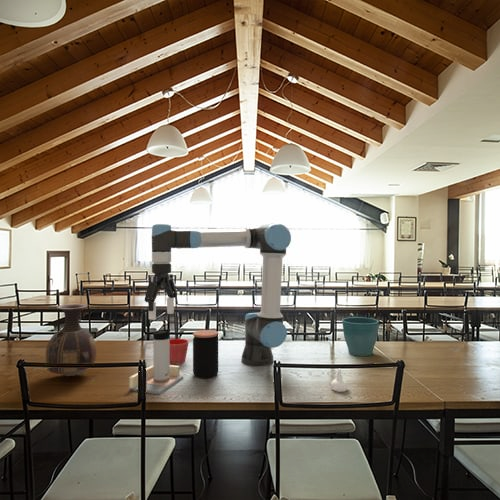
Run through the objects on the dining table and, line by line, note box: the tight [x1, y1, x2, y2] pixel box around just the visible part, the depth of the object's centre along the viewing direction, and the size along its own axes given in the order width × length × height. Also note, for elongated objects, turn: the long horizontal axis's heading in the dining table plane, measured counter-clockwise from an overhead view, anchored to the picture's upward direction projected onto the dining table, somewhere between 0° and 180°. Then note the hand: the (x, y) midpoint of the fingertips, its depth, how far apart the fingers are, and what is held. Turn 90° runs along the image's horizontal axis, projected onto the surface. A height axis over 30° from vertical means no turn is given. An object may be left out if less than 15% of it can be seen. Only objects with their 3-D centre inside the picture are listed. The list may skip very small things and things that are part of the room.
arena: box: [129, 364, 184, 395], centre depth 151 cm, size 13×18×5 cm
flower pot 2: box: [341, 316, 380, 357], centre depth 195 cm, size 18×18×17 cm
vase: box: [44, 303, 97, 377], centre depth 159 cm, size 23×19×30 cm
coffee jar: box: [192, 329, 219, 380], centre depth 162 cm, size 11×11×18 cm
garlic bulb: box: [330, 368, 349, 393], centre depth 145 cm, size 6×6×8 cm
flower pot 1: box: [169, 338, 190, 365], centre depth 180 cm, size 11×11×10 cm
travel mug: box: [152, 328, 171, 383], centre depth 152 cm, size 6×7×20 cm
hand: (161, 316), depth 152 cm, fingers open, 13 cm apart
